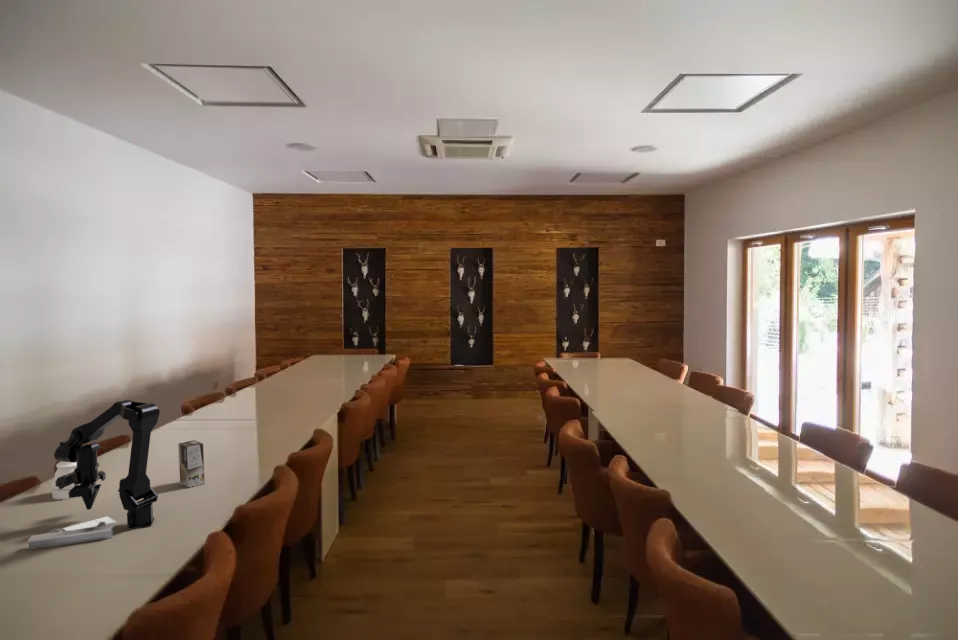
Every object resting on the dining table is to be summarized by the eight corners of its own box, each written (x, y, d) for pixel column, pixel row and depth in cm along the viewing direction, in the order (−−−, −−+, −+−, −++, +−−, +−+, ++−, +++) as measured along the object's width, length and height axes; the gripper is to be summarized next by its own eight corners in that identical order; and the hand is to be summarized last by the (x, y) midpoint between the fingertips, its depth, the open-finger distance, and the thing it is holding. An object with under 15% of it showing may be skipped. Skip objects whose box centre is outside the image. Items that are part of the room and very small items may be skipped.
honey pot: (90, 485, 223) (88, 440, 222) (97, 493, 214) (95, 446, 213) (49, 493, 214) (47, 446, 213) (55, 502, 205) (52, 453, 204)
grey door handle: (118, 527, 182) (117, 518, 181) (111, 538, 173) (111, 528, 173) (39, 538, 174) (38, 528, 174) (28, 550, 166) (27, 540, 166)
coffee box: (205, 483, 222) (203, 443, 222) (188, 488, 218) (186, 446, 217) (196, 478, 229) (194, 439, 228) (179, 483, 224) (177, 442, 223)
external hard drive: (62, 533, 179) (107, 520, 189) (71, 539, 174) (116, 526, 184) (62, 528, 179) (106, 515, 189) (71, 534, 174) (116, 521, 184)
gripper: (67, 458, 194) (69, 503, 195) (47, 474, 176) (50, 523, 177) (105, 454, 198) (107, 498, 199) (90, 469, 180) (92, 517, 181)
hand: (89, 509), depth 189 cm, fingers closed
